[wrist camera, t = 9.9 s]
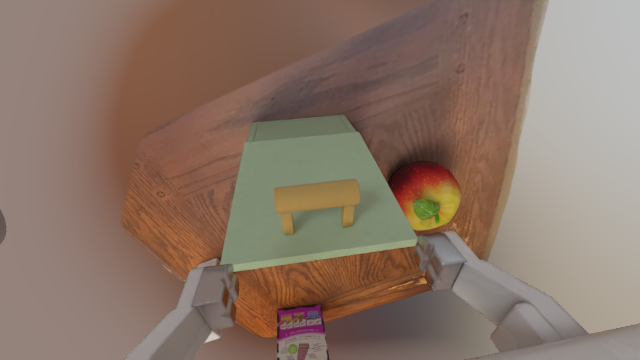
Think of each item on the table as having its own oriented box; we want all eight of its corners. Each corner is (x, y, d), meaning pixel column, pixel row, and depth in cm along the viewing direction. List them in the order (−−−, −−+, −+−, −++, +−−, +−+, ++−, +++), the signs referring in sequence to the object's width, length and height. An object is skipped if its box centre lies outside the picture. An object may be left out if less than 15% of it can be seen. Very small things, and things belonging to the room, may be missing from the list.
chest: (342, 192, 40) (353, 219, 34) (268, 201, 39) (266, 231, 33) (344, 114, 32) (357, 133, 27) (252, 122, 31) (245, 143, 25)
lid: (415, 245, 16) (435, 197, 13) (223, 273, 14) (195, 227, 11) (358, 137, 26) (362, 98, 23) (246, 148, 25) (234, 108, 22)
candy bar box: (278, 319, 60) (277, 404, 47) (277, 309, 57) (275, 396, 44) (320, 313, 62) (332, 394, 48) (321, 303, 59) (333, 386, 45)
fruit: (403, 211, 44) (431, 254, 36) (365, 186, 40) (387, 228, 31) (450, 172, 41) (493, 209, 32) (413, 138, 36) (453, 172, 28)
